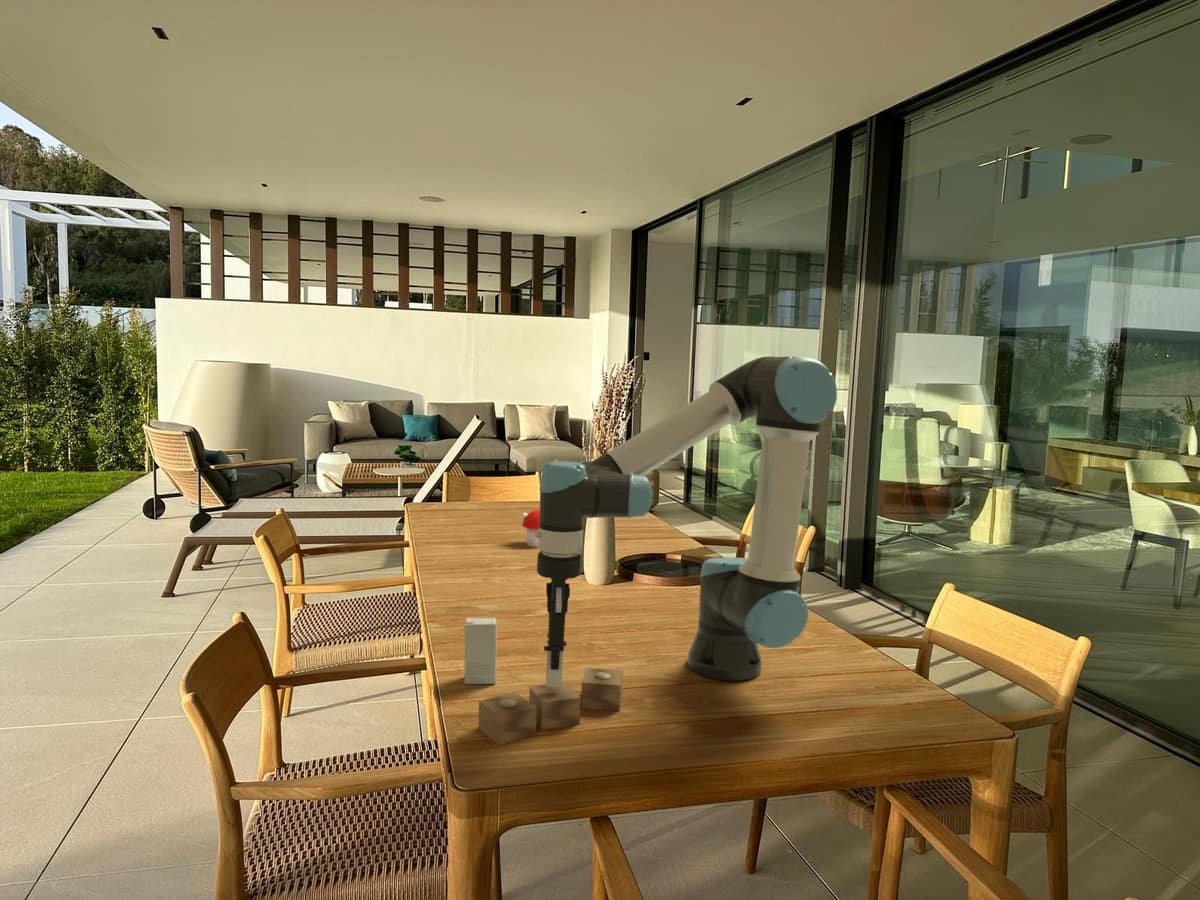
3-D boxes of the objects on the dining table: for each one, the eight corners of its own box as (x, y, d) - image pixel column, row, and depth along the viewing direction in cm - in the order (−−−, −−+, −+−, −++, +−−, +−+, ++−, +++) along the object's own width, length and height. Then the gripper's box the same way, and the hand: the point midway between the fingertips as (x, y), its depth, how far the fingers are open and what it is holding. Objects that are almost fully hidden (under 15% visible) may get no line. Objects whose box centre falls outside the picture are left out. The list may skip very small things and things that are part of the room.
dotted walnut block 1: (513, 719, 140) (514, 690, 139) (535, 735, 134) (536, 705, 133) (478, 729, 135) (479, 699, 135) (499, 746, 130) (500, 715, 129)
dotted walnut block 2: (621, 695, 151) (623, 669, 150) (619, 712, 144) (620, 684, 144) (585, 693, 152) (586, 666, 151) (580, 709, 145) (581, 681, 144)
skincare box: (496, 676, 158) (498, 616, 156) (495, 685, 153) (497, 624, 152) (464, 676, 157) (466, 616, 156) (463, 685, 152) (464, 623, 151)
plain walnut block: (565, 708, 145) (566, 681, 144) (579, 725, 138) (580, 697, 138) (528, 713, 142) (529, 686, 142) (541, 730, 136) (542, 702, 135)
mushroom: (518, 541, 272) (519, 507, 271) (549, 540, 275) (550, 506, 274) (524, 549, 262) (525, 513, 261) (557, 548, 265) (558, 512, 264)
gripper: (537, 542, 143) (532, 669, 146) (537, 561, 130) (531, 700, 133) (579, 544, 144) (573, 670, 146) (583, 562, 131) (576, 700, 133)
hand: (553, 684), depth 139 cm, fingers closed
